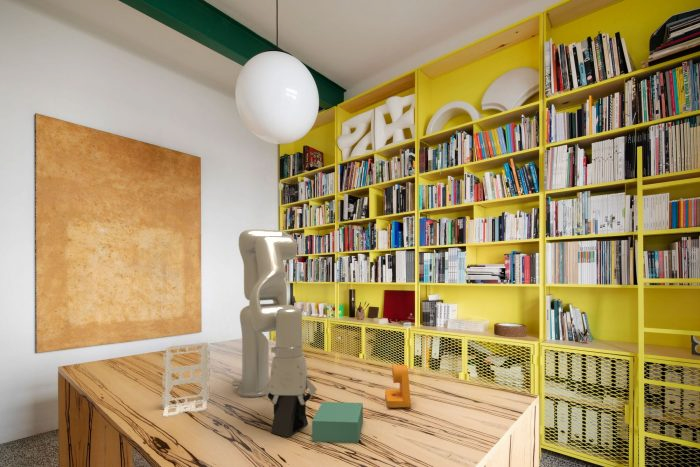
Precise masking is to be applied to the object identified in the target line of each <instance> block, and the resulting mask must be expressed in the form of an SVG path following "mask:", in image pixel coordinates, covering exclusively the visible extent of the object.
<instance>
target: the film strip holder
mask: <svg viewBox="0 0 700 467" xmlns="http://www.w3.org/2000/svg"><path fill="white" fill-rule="evenodd" d="M208 343H209V342H198V343H189V344H188V343H187V344H179V345H170V346H166V347H165V353H163V356H162V357H163V358H162V369H164V372H162V384H161V385H162V386H161V387H162V388H164V391H162V393H161V410H163V412H162V418H169V417H176V416H178V415H181V414H182V413H186V412H188V413H200V412H204V411H207V410H208V403H209V402H210V384H208V381H210V379H211V378H210V377H211V375H210V371H211V366H208V363H210V362H211V349H210V348H208V347H209V346H208V345H209V344H208ZM197 347H202V349H197ZM190 348H194V349H195V350H189V349H190ZM180 349H185V351H180ZM172 350H177V352H172ZM191 353H192V354H193V353H200V354H201V356H202V360H201V361H200V364H193V365H185V366H176V367H174V366H173V364H172V363H171V361H172V359H173V357H174V356H176V355H184V354H191ZM196 370H197V371H199V370H200V372H201V374H200V376H195V371H196ZM185 372H189V373H190V376H189V378H188V377H187V378H184V373H185ZM173 373H174V374H175V373H178V376H179V377H178V379H175V380H174V379H173V378H172V376H173ZM193 383H199V384H200V385H201V387H202V388H201V391H200V393H199V394H195V395H193V394H192V395H188V396H187V395H186V396H181V397H173V396H172V394H171V393H170V392H171V390H172V388H173V387H174V386H179V385H186V384H193ZM198 397H201V398H202V399H198V400H196V399H197V398H198ZM191 398H193V400H191V401H188V399H191ZM179 400H184V402H179ZM171 401H172V402H174V401H175V403H173V404H172V403H171ZM197 405H198V406H199V405H202V406H199V407H197ZM174 409H175V411H170V410H174ZM169 411H170V412H169Z"/></svg>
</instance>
